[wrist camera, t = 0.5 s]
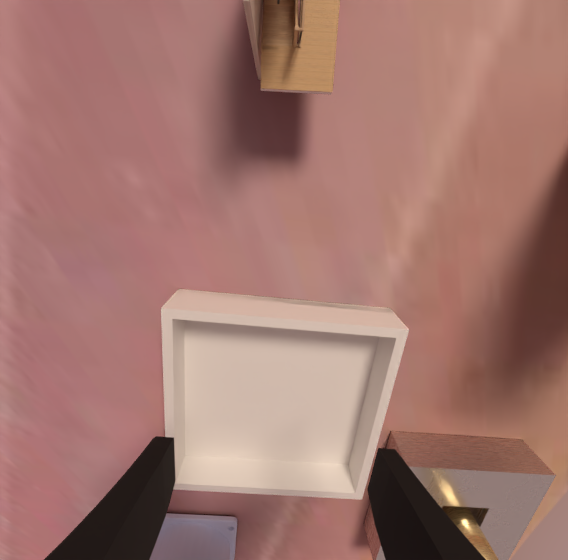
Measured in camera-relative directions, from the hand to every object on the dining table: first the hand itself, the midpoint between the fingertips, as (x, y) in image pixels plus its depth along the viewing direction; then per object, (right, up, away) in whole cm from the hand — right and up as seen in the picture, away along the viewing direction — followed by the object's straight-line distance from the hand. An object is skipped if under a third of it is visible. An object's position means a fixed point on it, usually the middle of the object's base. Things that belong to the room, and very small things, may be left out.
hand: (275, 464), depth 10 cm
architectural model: (0, +20, +5) cm, 20 cm away
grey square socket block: (+14, -11, +15) cm, 23 cm away
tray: (0, -1, +11) cm, 11 cm away
